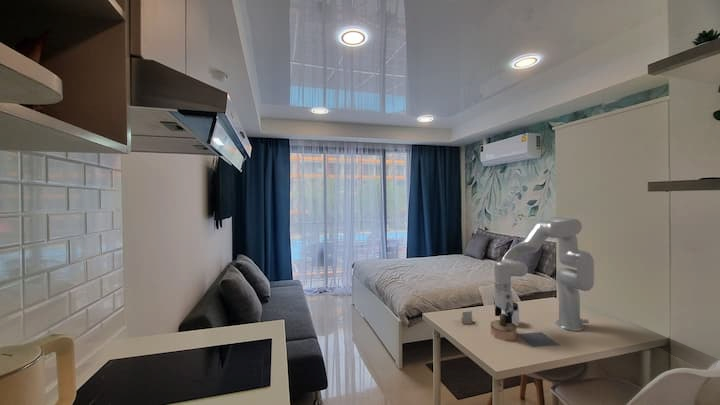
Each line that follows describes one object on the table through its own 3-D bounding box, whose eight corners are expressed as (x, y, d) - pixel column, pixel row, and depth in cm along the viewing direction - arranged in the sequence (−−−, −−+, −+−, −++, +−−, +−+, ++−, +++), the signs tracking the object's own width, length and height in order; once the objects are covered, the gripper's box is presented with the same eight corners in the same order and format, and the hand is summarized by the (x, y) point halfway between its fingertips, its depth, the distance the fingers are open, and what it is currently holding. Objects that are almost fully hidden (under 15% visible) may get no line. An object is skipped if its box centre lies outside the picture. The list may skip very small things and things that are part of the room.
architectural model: (459, 322, 177) (459, 309, 177) (471, 321, 178) (470, 309, 178) (462, 325, 174) (462, 312, 174) (473, 324, 175) (473, 311, 175)
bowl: (508, 331, 164) (507, 321, 163) (520, 340, 153) (520, 330, 152) (487, 332, 163) (487, 323, 163) (498, 342, 152) (498, 332, 152)
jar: (512, 329, 165) (512, 307, 165) (498, 324, 172) (498, 303, 172) (521, 325, 170) (521, 303, 170) (507, 320, 177) (507, 299, 177)
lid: (508, 321, 164) (507, 310, 164) (521, 331, 152) (521, 319, 152) (486, 322, 163) (486, 311, 163) (498, 332, 151) (498, 320, 151)
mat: (541, 333, 160) (541, 332, 160) (560, 346, 146) (560, 345, 146) (515, 334, 159) (515, 333, 159) (532, 348, 145) (532, 346, 145)
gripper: (519, 290, 149) (520, 326, 149) (500, 281, 166) (501, 312, 166) (504, 291, 148) (505, 327, 149) (487, 281, 166) (487, 313, 166)
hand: (503, 319), depth 157 cm, fingers open, 9 cm apart
